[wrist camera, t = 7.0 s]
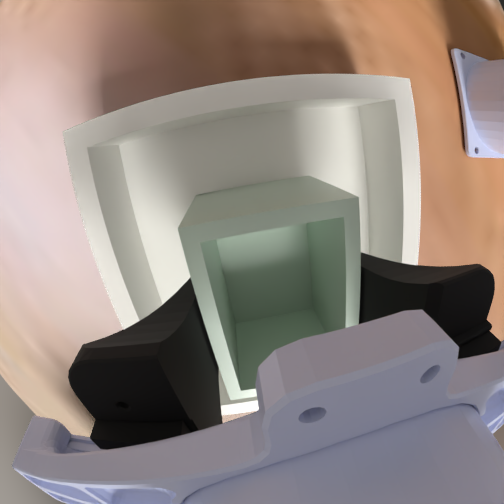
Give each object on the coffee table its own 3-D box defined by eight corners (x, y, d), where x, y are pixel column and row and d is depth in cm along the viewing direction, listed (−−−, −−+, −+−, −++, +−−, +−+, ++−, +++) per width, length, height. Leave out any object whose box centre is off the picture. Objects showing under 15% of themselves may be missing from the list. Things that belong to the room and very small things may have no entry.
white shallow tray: (363, 91, 13) (409, 78, 9) (370, 331, 19) (398, 372, 15) (105, 132, 12) (62, 131, 8) (179, 369, 18) (173, 419, 14)
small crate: (309, 175, 12) (358, 196, 7) (320, 308, 15) (354, 373, 10) (196, 194, 12) (177, 228, 7) (227, 326, 15) (230, 400, 10)
